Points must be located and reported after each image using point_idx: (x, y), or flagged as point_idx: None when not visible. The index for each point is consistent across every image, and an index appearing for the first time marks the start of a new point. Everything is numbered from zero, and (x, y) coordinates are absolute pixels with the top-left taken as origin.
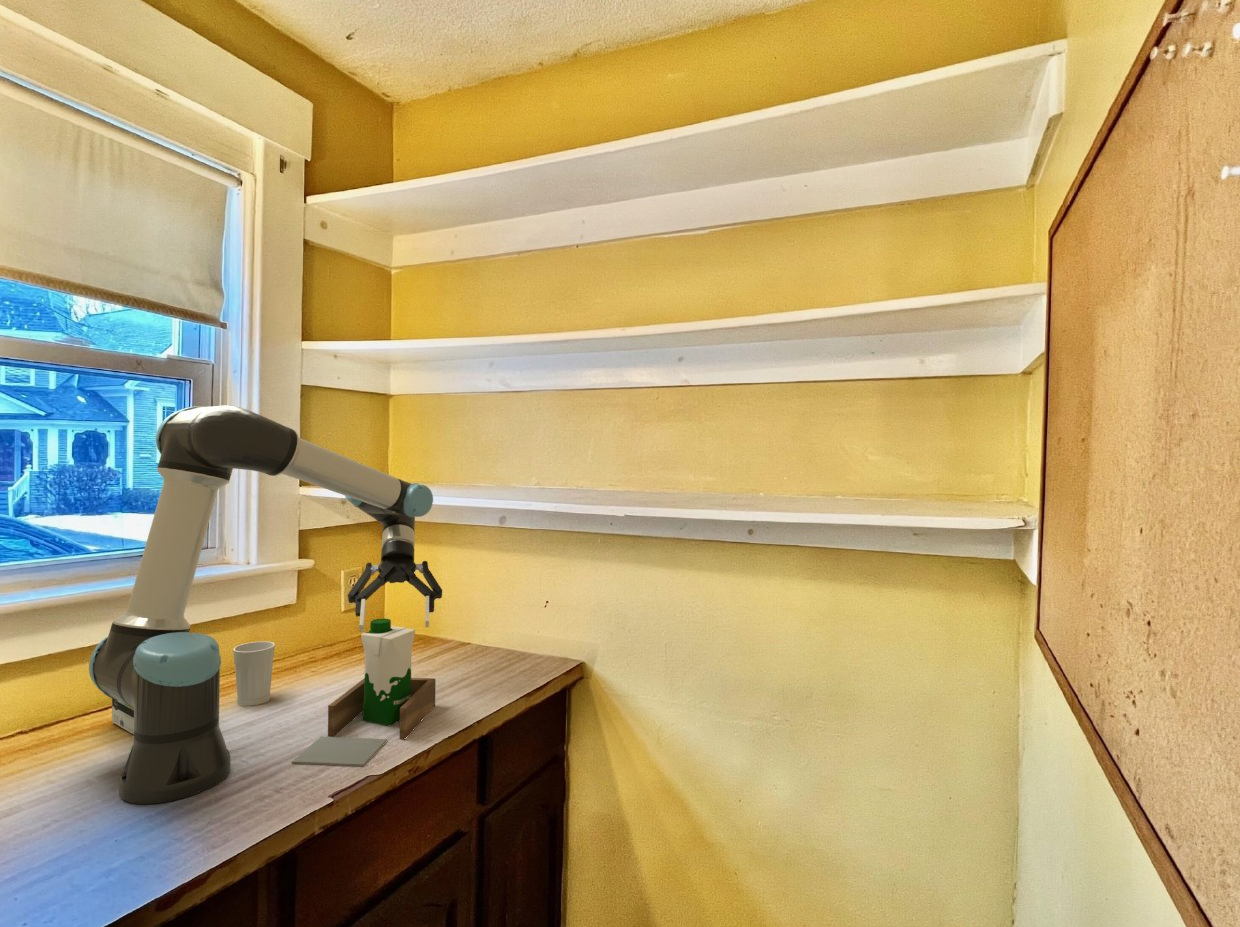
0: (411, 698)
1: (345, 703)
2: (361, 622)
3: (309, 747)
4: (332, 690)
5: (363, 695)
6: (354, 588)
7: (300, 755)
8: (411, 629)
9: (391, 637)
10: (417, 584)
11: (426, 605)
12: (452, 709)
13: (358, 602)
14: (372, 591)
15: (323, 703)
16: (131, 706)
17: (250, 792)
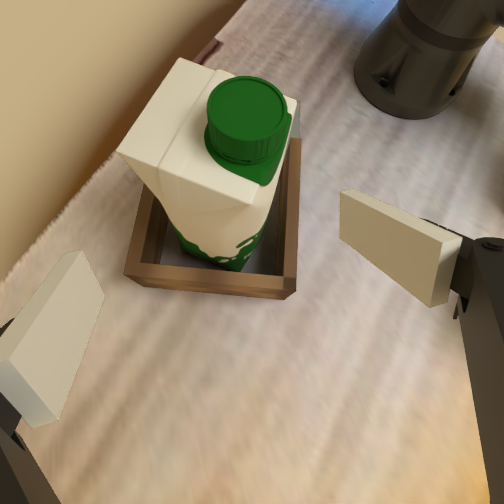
0: None
1: (286, 180)
2: (352, 194)
3: (296, 133)
4: (387, 374)
5: (280, 254)
6: None
7: (296, 113)
8: (132, 152)
9: (183, 68)
10: (32, 499)
11: (41, 301)
12: (106, 268)
13: (462, 244)
14: (480, 353)
15: (366, 300)
16: None
17: (308, 54)
